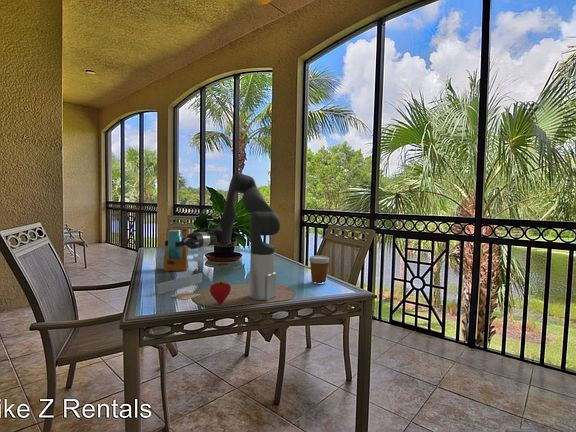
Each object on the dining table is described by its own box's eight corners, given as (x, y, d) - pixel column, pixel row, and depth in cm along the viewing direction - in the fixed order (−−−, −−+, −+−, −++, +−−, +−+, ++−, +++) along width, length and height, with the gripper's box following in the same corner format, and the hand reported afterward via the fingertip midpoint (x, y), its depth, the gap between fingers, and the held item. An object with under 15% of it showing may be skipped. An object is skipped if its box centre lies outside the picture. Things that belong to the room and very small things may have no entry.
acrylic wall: (202, 282, 147) (202, 273, 147) (158, 294, 126) (158, 284, 126) (200, 281, 148) (200, 272, 147) (156, 294, 126) (156, 284, 126)
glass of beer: (318, 286, 145) (319, 259, 144) (304, 282, 152) (304, 256, 151) (333, 283, 151) (334, 257, 150) (318, 279, 158) (319, 254, 157)
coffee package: (166, 267, 175) (166, 226, 174) (190, 267, 176) (190, 227, 175) (161, 271, 165) (161, 228, 164) (186, 272, 166) (186, 228, 165)
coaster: (200, 295, 127) (201, 294, 127) (185, 300, 120) (185, 299, 120) (186, 291, 131) (186, 291, 131) (170, 296, 124) (170, 295, 124)
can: (185, 257, 145) (185, 230, 145) (174, 259, 140) (174, 231, 140) (175, 256, 148) (175, 229, 148) (164, 258, 143) (164, 230, 143)
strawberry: (208, 302, 119) (208, 275, 118) (228, 300, 122) (228, 273, 121) (211, 307, 114) (211, 278, 113) (232, 304, 117) (232, 277, 116)
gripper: (187, 231, 160) (159, 234, 145) (209, 233, 153) (182, 236, 138) (187, 246, 160) (159, 251, 145) (209, 249, 153) (182, 254, 139)
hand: (170, 243), depth 142 cm, fingers closed on can, 6 cm apart
